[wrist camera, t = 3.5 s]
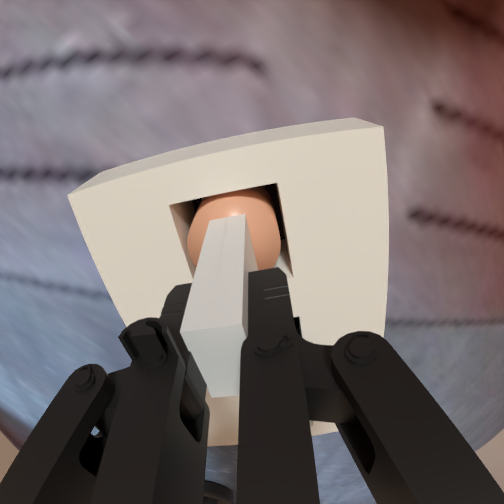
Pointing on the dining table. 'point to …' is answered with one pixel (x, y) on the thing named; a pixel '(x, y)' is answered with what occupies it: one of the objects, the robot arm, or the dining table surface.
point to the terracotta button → (258, 217)
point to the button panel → (292, 247)
